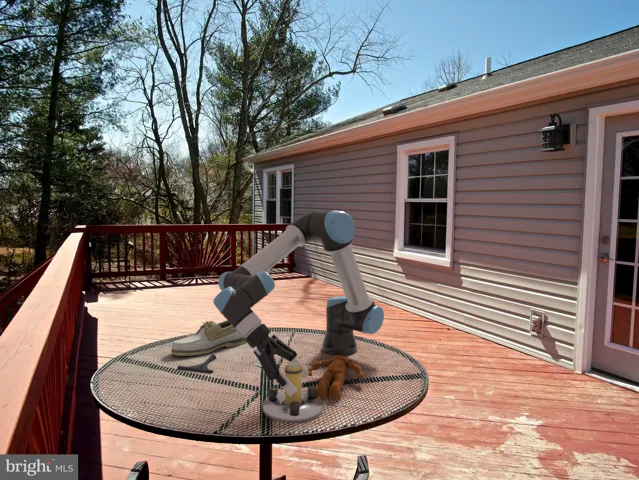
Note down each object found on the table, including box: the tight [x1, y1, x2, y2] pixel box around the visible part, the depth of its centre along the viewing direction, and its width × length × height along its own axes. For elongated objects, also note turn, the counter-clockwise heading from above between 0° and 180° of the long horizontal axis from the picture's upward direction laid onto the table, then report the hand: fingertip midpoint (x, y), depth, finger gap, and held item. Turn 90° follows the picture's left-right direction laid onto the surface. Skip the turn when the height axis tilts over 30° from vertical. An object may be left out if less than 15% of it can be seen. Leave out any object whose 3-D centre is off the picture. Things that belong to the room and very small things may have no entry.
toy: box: [306, 355, 365, 401], centre depth 150 cm, size 20×7×30 cm
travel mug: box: [284, 362, 303, 406], centre depth 128 cm, size 5×5×12 cm
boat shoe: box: [170, 319, 248, 357], centre depth 185 cm, size 13×36×12 cm, turn 138°
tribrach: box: [262, 385, 324, 423], centre depth 129 cm, size 18×18×4 cm
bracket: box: [176, 354, 217, 374], centre depth 165 cm, size 14×15×3 cm
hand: (300, 384), depth 128 cm, fingers open, 13 cm apart
